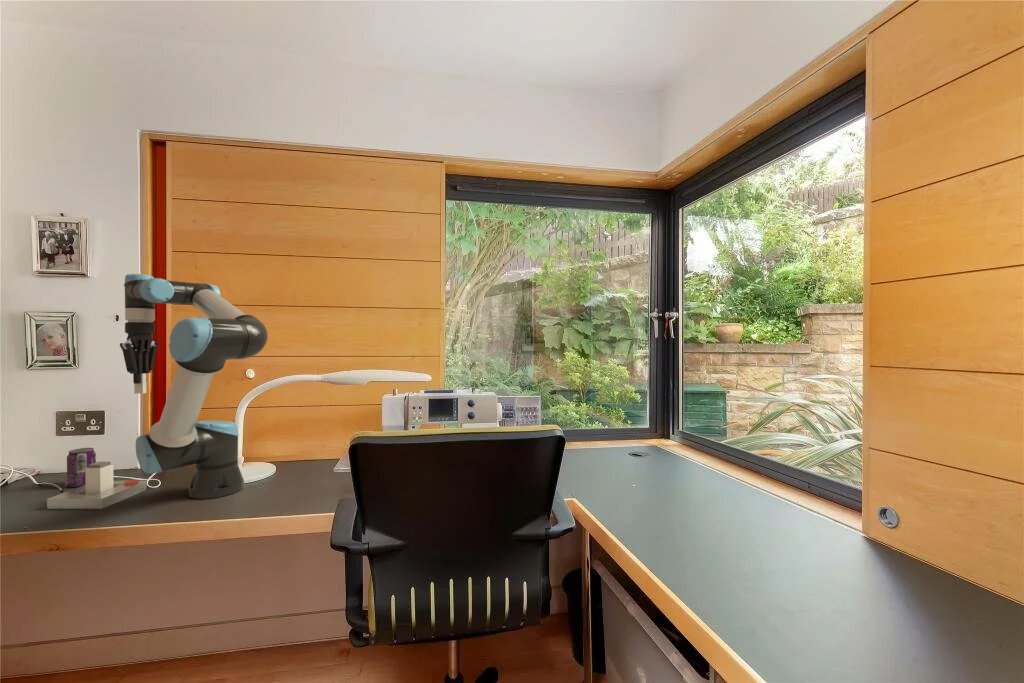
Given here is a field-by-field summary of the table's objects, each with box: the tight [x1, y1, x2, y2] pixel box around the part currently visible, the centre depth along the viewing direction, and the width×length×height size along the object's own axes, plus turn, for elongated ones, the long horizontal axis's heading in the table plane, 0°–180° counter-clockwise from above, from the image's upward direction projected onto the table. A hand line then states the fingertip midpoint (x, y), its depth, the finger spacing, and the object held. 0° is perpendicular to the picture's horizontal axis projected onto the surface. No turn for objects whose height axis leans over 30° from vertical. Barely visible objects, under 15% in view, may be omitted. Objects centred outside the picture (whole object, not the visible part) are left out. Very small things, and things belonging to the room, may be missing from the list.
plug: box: [86, 461, 114, 495], centre depth 137 cm, size 4×4×11 cm
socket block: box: [46, 479, 147, 510], centre depth 137 cm, size 16×16×4 cm
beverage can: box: [66, 447, 97, 488], centre depth 150 cm, size 7×7×12 cm
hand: (140, 393), depth 144 cm, fingers closed
